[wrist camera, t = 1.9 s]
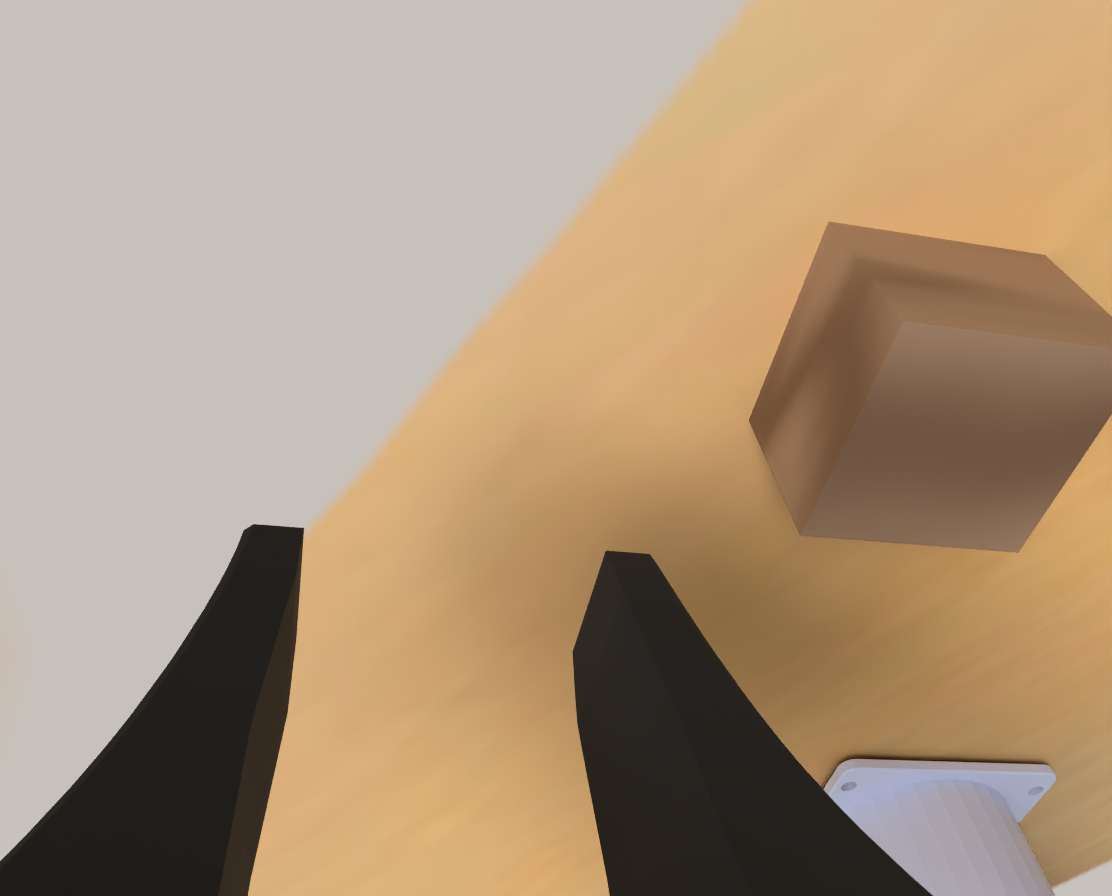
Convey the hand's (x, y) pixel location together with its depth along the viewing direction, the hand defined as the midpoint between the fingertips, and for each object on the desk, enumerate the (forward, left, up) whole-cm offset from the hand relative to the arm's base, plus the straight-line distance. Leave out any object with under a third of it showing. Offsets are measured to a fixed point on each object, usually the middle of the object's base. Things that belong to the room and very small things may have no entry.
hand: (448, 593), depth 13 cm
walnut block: (0, -10, -9) cm, 13 cm away
